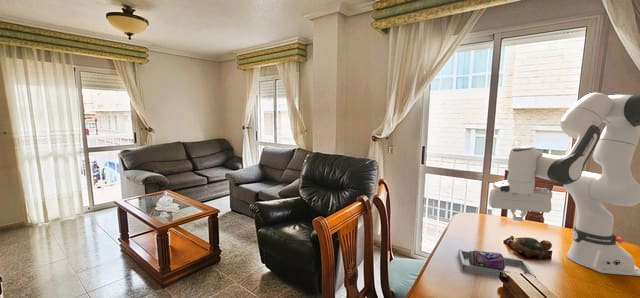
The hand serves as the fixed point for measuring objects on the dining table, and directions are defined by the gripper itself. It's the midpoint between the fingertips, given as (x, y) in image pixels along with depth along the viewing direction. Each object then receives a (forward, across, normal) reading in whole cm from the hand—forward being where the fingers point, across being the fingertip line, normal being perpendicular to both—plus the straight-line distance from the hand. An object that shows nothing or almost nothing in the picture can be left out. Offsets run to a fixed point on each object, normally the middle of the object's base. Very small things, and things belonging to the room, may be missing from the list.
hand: (517, 220), depth 108 cm
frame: (+22, +7, 0) cm, 23 cm away
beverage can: (+18, +4, +2) cm, 19 cm away
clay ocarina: (+23, -11, -18) cm, 31 cm away
